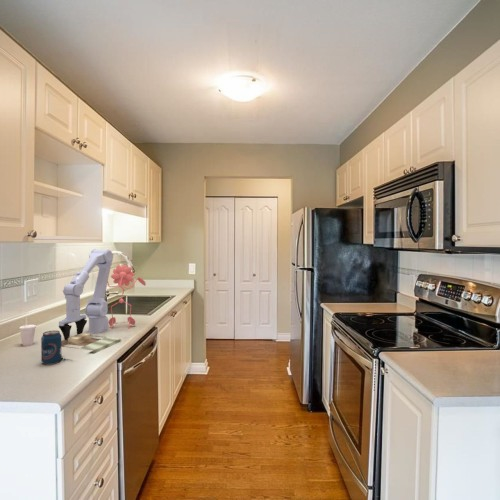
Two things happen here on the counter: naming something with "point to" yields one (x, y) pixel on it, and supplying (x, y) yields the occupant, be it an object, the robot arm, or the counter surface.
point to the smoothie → (27, 334)
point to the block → (79, 338)
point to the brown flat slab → (94, 344)
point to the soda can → (51, 347)
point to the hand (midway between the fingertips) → (73, 337)
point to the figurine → (124, 277)
